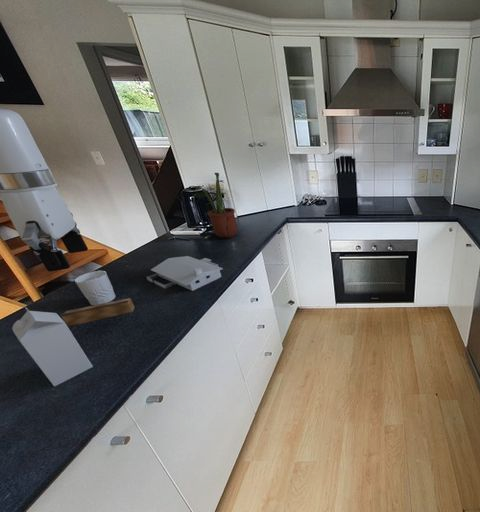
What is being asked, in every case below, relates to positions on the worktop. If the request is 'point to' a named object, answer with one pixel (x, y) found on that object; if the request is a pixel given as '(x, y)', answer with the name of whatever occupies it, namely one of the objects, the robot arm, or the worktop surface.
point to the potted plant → (220, 213)
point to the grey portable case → (186, 272)
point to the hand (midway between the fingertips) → (70, 259)
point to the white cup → (96, 287)
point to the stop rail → (98, 312)
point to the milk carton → (51, 345)
